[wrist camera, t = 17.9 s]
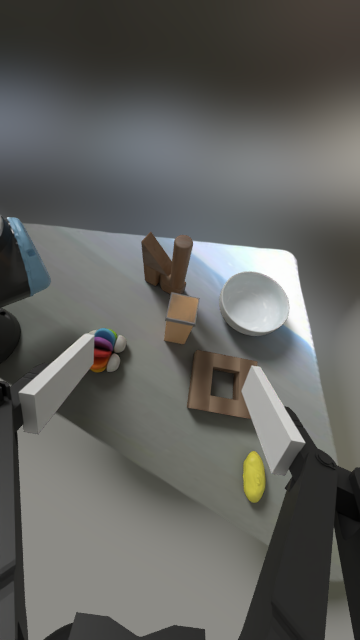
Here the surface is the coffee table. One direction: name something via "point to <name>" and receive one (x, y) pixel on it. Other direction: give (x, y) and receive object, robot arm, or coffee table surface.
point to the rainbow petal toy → (106, 350)
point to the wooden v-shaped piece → (166, 263)
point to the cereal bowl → (253, 303)
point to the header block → (203, 379)
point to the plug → (180, 317)
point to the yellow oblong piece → (254, 477)
